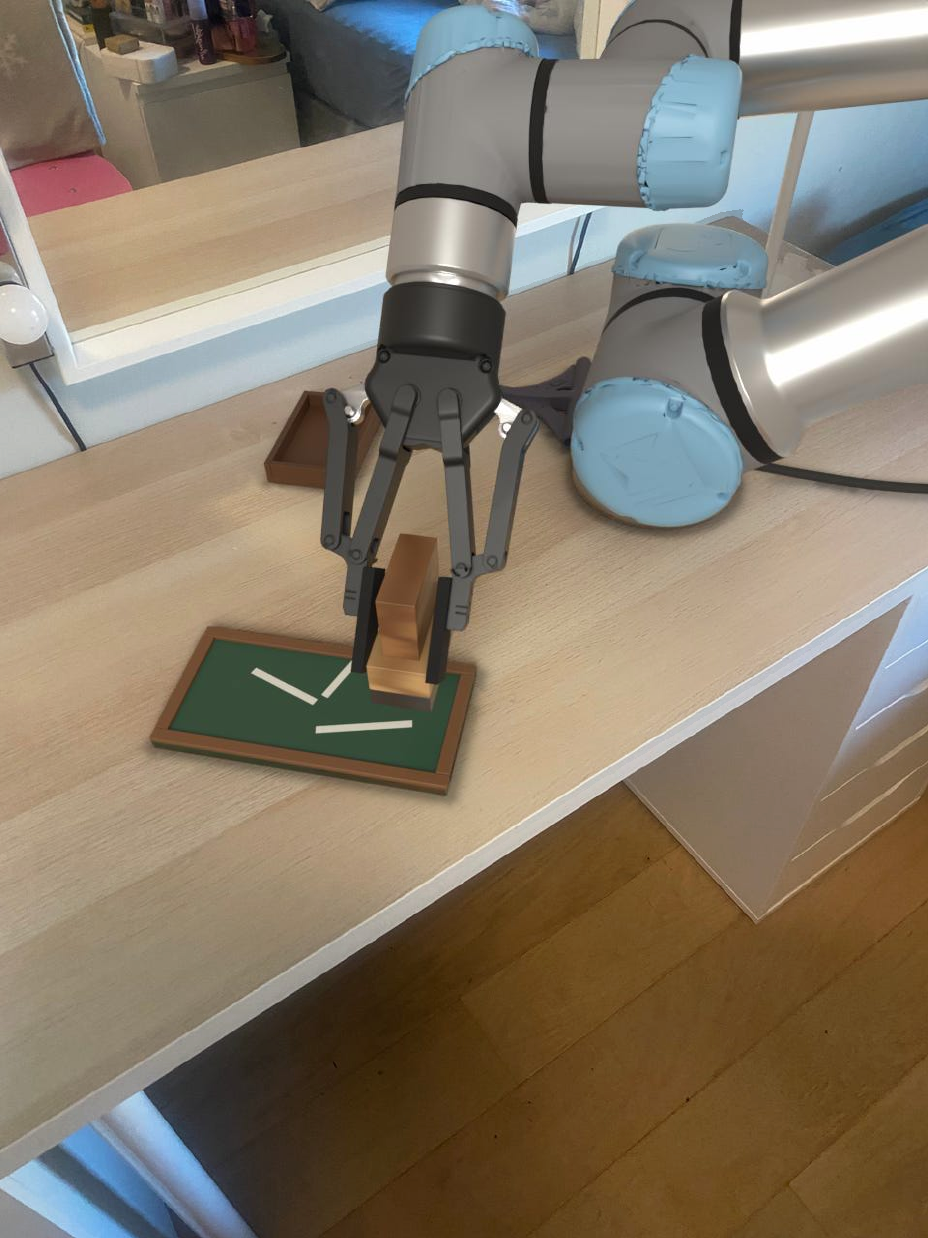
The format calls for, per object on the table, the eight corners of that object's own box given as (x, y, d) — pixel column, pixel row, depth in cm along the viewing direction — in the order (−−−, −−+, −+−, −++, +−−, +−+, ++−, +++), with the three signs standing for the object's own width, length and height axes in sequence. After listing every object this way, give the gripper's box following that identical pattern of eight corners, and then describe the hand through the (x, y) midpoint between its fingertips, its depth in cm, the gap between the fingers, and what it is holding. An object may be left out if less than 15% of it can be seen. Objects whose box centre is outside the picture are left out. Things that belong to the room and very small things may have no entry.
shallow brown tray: (383, 416, 92) (381, 397, 91) (350, 492, 84) (347, 472, 83) (307, 408, 94) (304, 389, 92) (267, 482, 86) (263, 463, 84)
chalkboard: (476, 674, 69) (476, 664, 68) (446, 796, 62) (446, 787, 61) (210, 636, 73) (207, 625, 72) (153, 748, 65) (148, 737, 64)
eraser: (456, 621, 63) (453, 528, 56) (431, 712, 58) (424, 621, 51) (401, 614, 64) (391, 520, 57) (371, 703, 58) (357, 611, 52)
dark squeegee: (456, 359, 99) (456, 336, 97) (590, 370, 97) (592, 347, 95) (429, 437, 90) (428, 414, 88) (577, 451, 88) (579, 428, 86)
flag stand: (686, 336, 101) (742, 30, 79) (712, 283, 109) (769, -9, 87) (804, 358, 98) (897, 45, 76) (822, 302, 106) (911, 3, 83)
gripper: (587, 325, 57) (538, 688, 58) (329, 302, 59) (289, 651, 61) (585, 288, 49) (528, 705, 51) (290, 263, 52) (245, 662, 53)
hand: (398, 675), depth 56 cm, fingers closed on eraser, 4 cm apart
